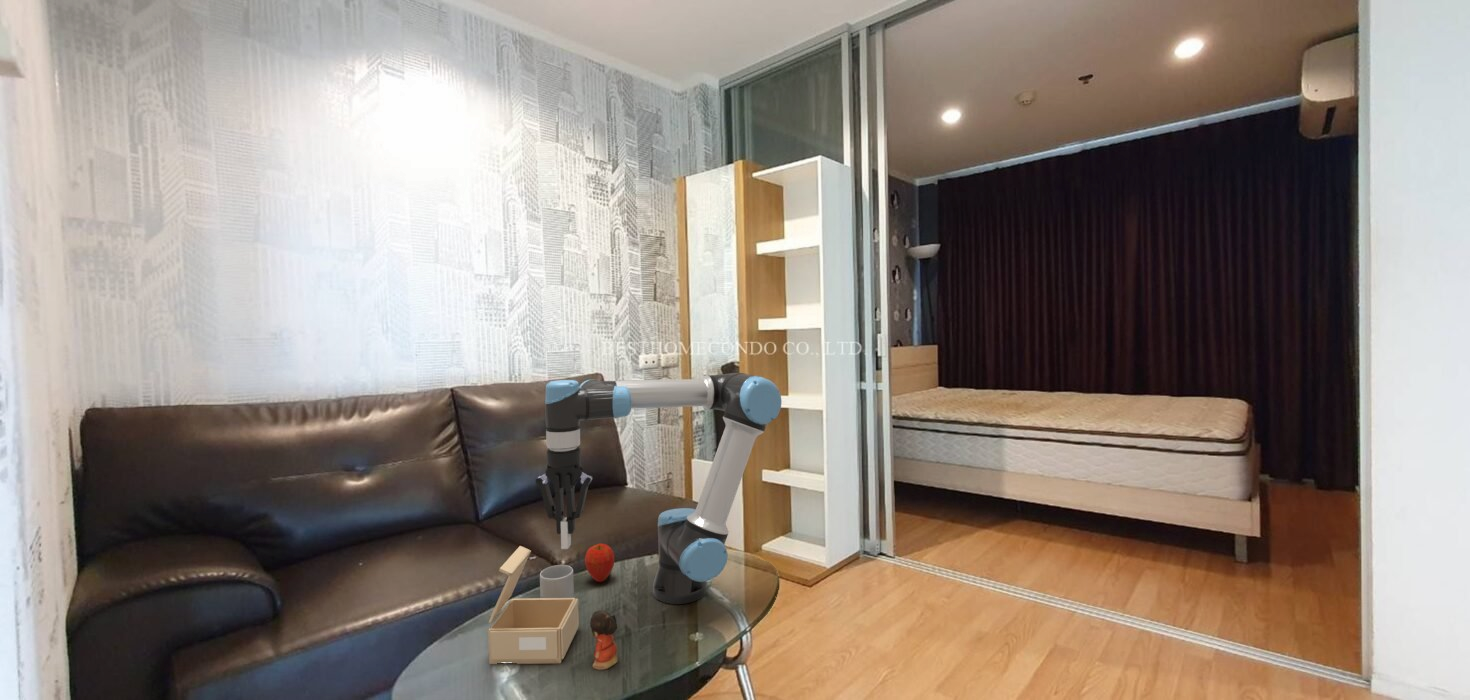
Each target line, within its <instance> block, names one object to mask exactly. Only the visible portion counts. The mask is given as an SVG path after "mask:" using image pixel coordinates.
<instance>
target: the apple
mask: <svg viewBox="0 0 1470 700" xmlns="http://www.w3.org/2000/svg"><path fill="white" fill-rule="evenodd" d="M614 565H615V554H614V551H613V550H612V548H611V547H610V546H609V545H608V544H606V543H597V544H594V545H593V546H591V547H589V548H588V549H587V551H586V553H585V556H584V566H585V568H586V570H587V572H588V574H589V575H590V577H592V579H594V581H596V582H598V583H603V582H605V581H606V580H607V578H608V577H609V575H610V573H611V572H612V570H613V569H614Z"/></svg>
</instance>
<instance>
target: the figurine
mask: <svg viewBox="0 0 1470 700" xmlns="http://www.w3.org/2000/svg"><path fill="white" fill-rule="evenodd" d="M589 621H590V622H589V627H590V629H591V632H592V635H593V637H594V638H595V639H596V643H595V648H594V649H595V651H593V655H594V656H593V657H594V662H593V664H592V665H591V668H593V669H595V670H607V669H609V668H611V667H612V666H615V664H617V663H618V660H619V659H618V655H617V653H618V647H617V644H616V643H615V641H614V640H615V639H614V638H615V637H614V636H613V634H614V633H615V632H616V631H617V630H618V624H617V618H616V615H611V614H610V613H608V611H605V610H596V611H594V612H593V613H592V616H591V618H590V620H589Z"/></svg>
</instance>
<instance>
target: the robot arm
mask: <svg viewBox="0 0 1470 700" xmlns="http://www.w3.org/2000/svg"><path fill="white" fill-rule="evenodd" d="M579 383H580V382H579V381H577V380H574V379H561V380H560V379H558V380H551V381H548V383H547V384H546V385H545V400H544V405H545V406H544V408H545V411H544V412H545V427H546V429H545V436H546V437H545V438H546V439H545V440H546V441H545V444H546V447H547V450H546V469H545V472H544V474H542V475H539V476H538V477H537V478H536V479H535V483H536V485H537V486H538V488H539V489H540V493H541V496H542V497H541V498H542V500H543V504H544V507H545V511H546V515H547V518H548V519H552V520H555V522H556V523H555V524H556V525H555V526H556V534H558V535H560V548H561V550H568V549H569V548H570V547H571V545H572V535H571V534H573V533H574V532H575V529H576V527H575V526H576V525H575V524H576V523H575V520H576V519H580V517H581V516H582V514H583V511H584V507H585V503H586V498H587V495H588V494H587V493H588V489H589V486H590V483H591V482H592V480H593V478H594V476H593V475H591V474H590V475H588V474H587V473H585V472H584V469H583V467H582V464H581V462H582V461H581V457H582V455H581V447H580V445H581V427H580V426H581V425H580V424H581V421H591V420H603V419H617V418H624V417H628V416H629V415H630V413H631V411H632V409H633V410H635V409H654V408H655V409H657V408H660V409H661V408H663V409H664V408H684V407H688V408H689V407H703V408H704V409H705V410H717V411H718V410H719V411H723V412H724V414H723V416H722V419H723V422H724V424H725V427H724V430H723V433H722V436H721V438H720V441H719V443H718V447H717V450H716V453H715V455H714V458H713V461H712V463H711V466H710V468H709V471H708V475H707V478H706V480H705V483H704V486H703V489H702V491H701V494H700V496H699V499H698V502H697V505H696V508H688V507H685V508H684V507H682V508H673V509H668V510H665V511H662V512H661V513H660V514H659V516H658V520H657V521H658V522H657V525H656V526H657V537H658V539H657V540H658V547H657V548H658V566H657V571H656V573H655V577H654V580H653V584H652V594H653V596H654V598H655V599H656V600H658V601H660V602H661V603H665V604H672V605H684V604H690V603H693V602H696V601H698V600H700V599H701V598H703V597H704V596H705V595H706V594H707V592H706V590H707V591H708V587H707V586H708V581H710V580H712V579H714V578H716V577H718V576H719V575H720V574H721V573H722V571H723V570H724V569H725V567H726V565H727V562H728V558H729V557H728V551H727V546H726V545H725V544H726V542H727V539H728V536H729V532H730V531H729V530H728V526H727V525H726V524H727V521H728V517H729V515H730V512H731V509H732V506H733V503H734V501H735V499H736V498H735V497H736V495H737V492H738V489H739V487H740V484H741V481H742V478H743V475H744V472H745V469H746V468H747V464H748V462H749V459H750V455H751V453H752V449H753V448H754V445H755V442H756V439H757V437H758V436H760V435H762V434H764V433H765V430H766V427H767V425H768V424H769V423H771V422H772V421H773V420H775V419H776V418H777V417H778V415H779V413H780V411H781V408H782V395H781V393H780V390H779V388H778V386H777V385H776V384H775V383H774V382H773V381H771V380H770V379H768V378H764V376H759V375H753V374H747V373H743V372H732V373H724V374H711V375H710V374H708V375H703V376H702V378H691V379H689V378H688V379H686V378H685V379H680V378H679V379H641V380H639V379H638V380H635V379H634V380H631V379H630V380H597V379H587V380H585V381H583V382H582V383H581V384H579ZM579 479H580V484H581V486H580V489H579V494H578V499H577V504H576V506H575V488H576V487H575V486H576V484H577V482H578V481H579ZM549 482H550V483H551V484H552V486H554V487H553V488H554V489H553V491H554V500H553V497H552V492H551V488H550V484H549ZM564 489H565V496H566V498H565V499H566V501H564ZM554 501H555V502H554ZM564 502H566V517H565V510H564V509H565V506H564V505H565V504H564ZM575 507H576V508H575ZM705 593H706V594H705Z"/></svg>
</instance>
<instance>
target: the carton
mask: <svg viewBox="0 0 1470 700" xmlns="http://www.w3.org/2000/svg"><path fill="white" fill-rule="evenodd" d="M579 615H580V614H579V599H578V598H577V597H576V598H575V597H574V598H540V597H538V598H530V597H529V598H511V599H510V601H509V602H508V603H507V604H506V606H505V607H504V609H502V611H501V613H500V614H499V615H498V617H496V619H495V621H493V623H492V624H491V626H490V627H489V628H488V655H489V659H488V661H489V665H498V664H497V663H501V662H512V663H517V664H516V665H524V664H525V665H528V664H529V665H530V664H531V665H532V664H534V665H535V664H536V665H537V664H538V665H539V664H540V665H541V664H562V662H563V660H564V659H565V656H566V654H567V652H568V651H569V648H570V646H571V643H572V642H573V640H574V637H575V635H576V634H577V631H578V628H579V627H580V623H579V621H580V619H579Z"/></svg>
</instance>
